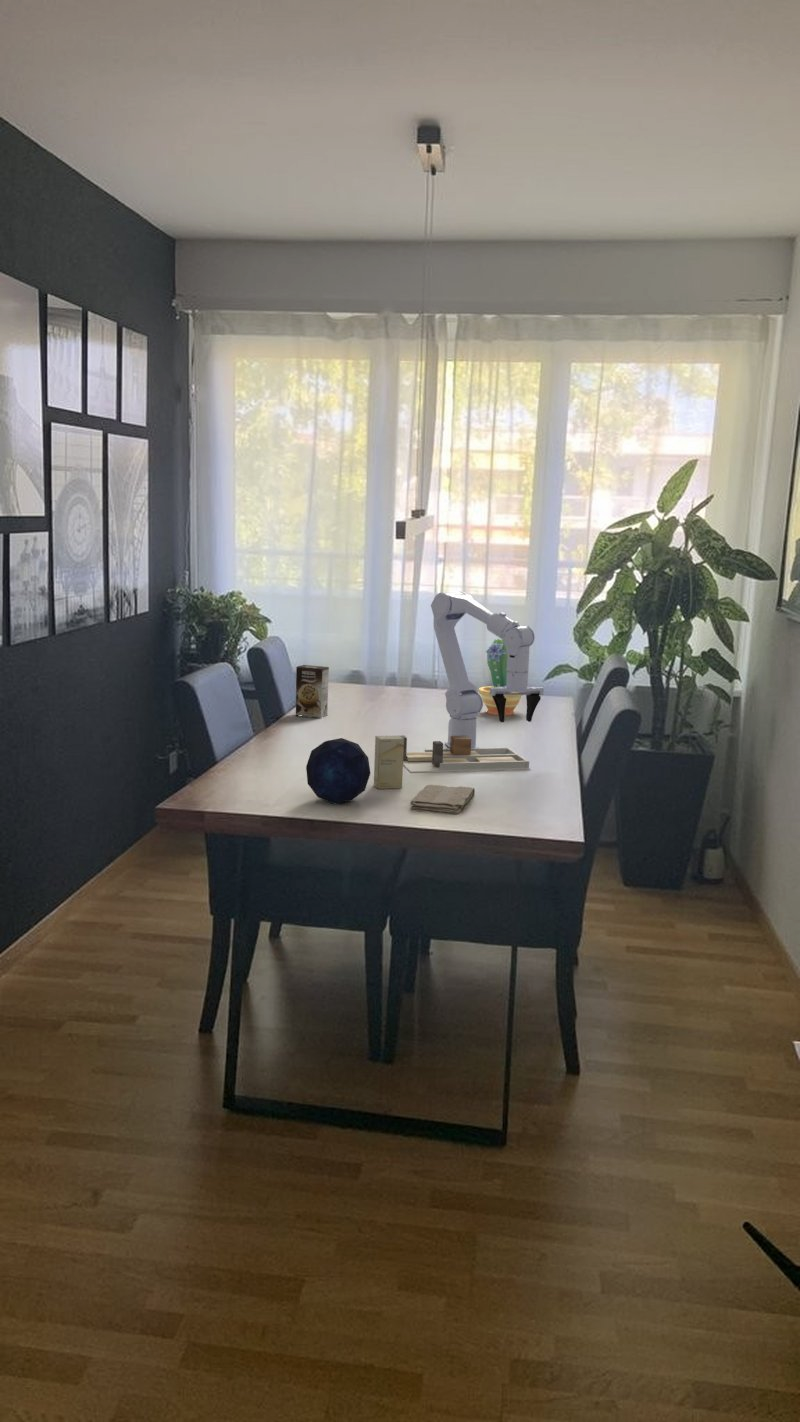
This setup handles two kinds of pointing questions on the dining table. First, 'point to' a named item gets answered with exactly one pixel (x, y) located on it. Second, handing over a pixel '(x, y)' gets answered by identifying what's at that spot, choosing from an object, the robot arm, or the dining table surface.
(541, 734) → the dining table surface
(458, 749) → the walnut cube
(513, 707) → the potted cactus
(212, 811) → the dining table surface
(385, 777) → the skincare box
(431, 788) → the washcloth
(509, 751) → the lane board
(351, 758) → the decorative orb
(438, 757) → the broken strip
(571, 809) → the dining table surface
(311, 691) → the coffee box
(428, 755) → the strip
